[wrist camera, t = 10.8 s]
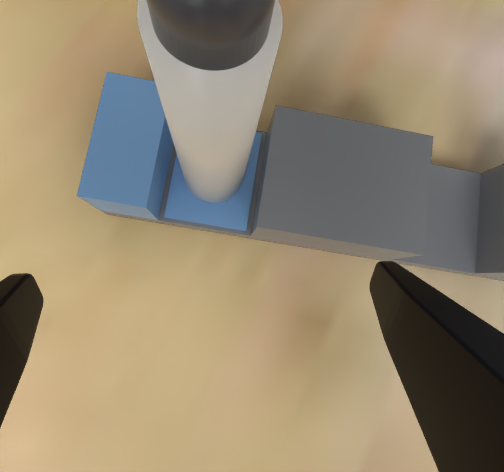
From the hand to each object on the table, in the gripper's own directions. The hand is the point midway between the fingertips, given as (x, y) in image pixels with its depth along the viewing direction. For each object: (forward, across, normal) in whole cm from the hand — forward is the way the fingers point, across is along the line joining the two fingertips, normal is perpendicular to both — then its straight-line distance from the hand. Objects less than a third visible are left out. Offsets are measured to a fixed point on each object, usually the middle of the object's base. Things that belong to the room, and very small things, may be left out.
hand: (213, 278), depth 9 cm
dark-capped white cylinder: (+10, 0, +2) cm, 10 cm away
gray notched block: (+10, -6, +4) cm, 13 cm away
